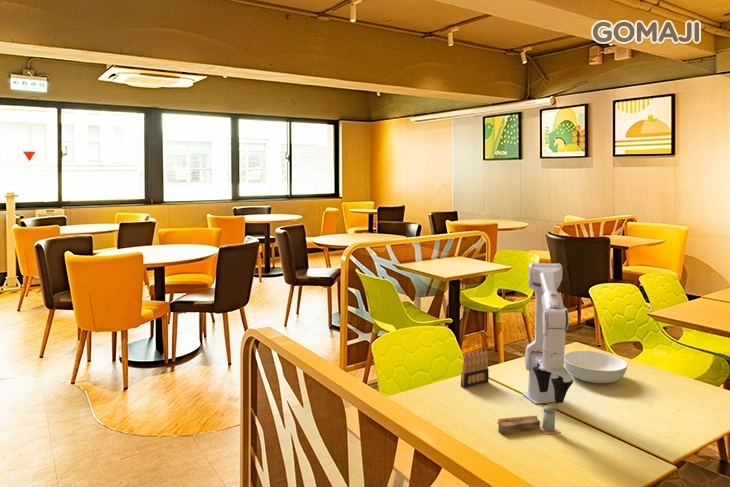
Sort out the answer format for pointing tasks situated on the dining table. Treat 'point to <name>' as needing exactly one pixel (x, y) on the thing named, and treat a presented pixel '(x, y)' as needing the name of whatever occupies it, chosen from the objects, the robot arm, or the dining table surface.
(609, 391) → the dining table surface
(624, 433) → the dining table surface
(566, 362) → the serving bowl
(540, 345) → the robot arm
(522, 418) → the chocolate bar
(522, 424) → the bar
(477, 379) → the ammunition clip
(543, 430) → the terracotta pad
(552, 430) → the grey-green cylindrical peg
